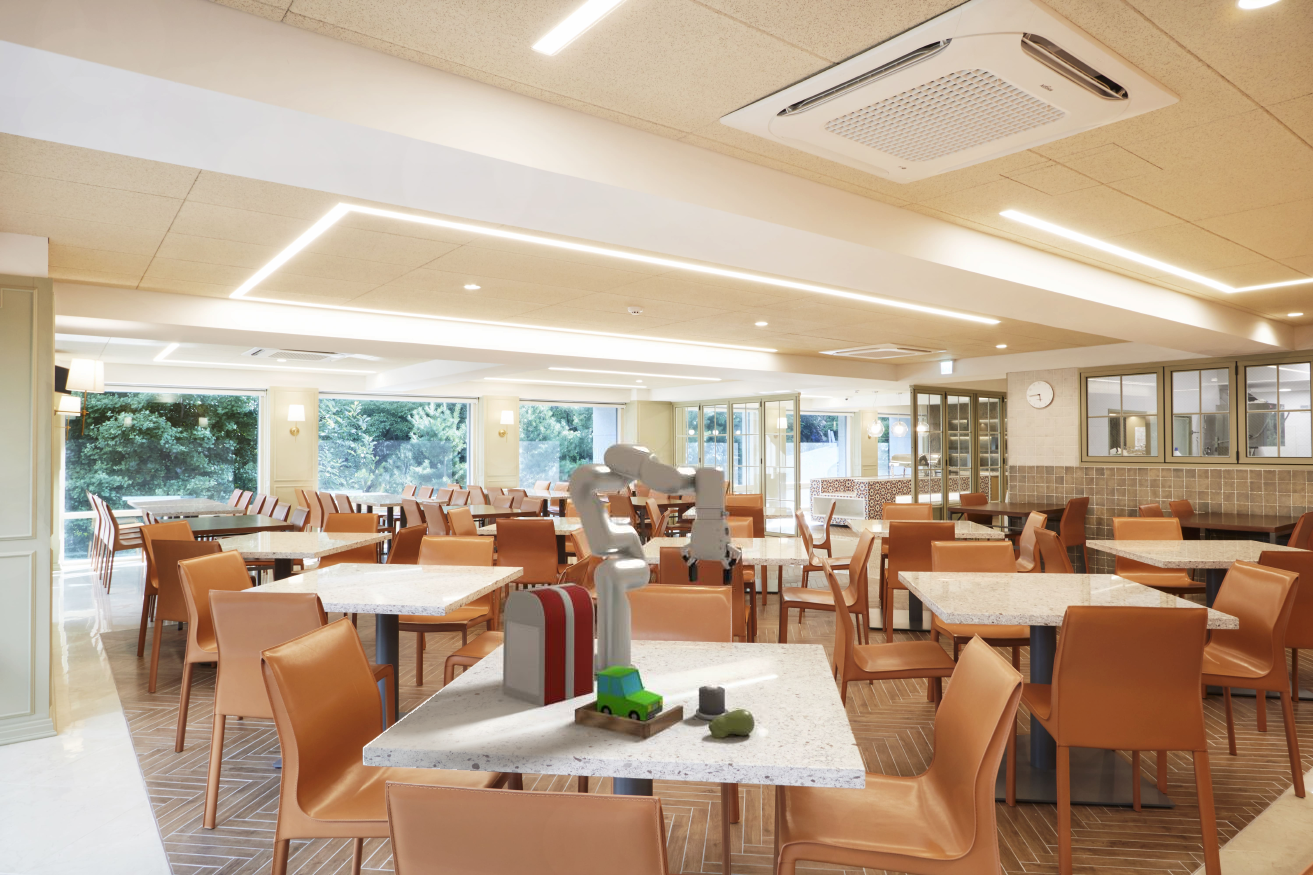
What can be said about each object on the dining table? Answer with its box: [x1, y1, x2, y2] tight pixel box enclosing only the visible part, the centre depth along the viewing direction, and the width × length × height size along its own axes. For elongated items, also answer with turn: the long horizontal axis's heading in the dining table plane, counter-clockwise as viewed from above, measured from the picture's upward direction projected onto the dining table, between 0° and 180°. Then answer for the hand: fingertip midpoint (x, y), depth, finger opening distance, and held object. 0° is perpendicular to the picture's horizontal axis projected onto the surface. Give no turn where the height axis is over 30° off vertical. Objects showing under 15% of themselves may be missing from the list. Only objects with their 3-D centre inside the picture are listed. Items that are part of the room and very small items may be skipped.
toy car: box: [596, 666, 664, 721], centre depth 178 cm, size 10×13×10 cm
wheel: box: [698, 684, 726, 715], centre depth 178 cm, size 6×6×6 cm
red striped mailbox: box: [502, 582, 596, 708], centre depth 197 cm, size 16×18×27 cm
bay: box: [574, 699, 684, 740], centre depth 174 cm, size 19×15×3 cm
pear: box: [708, 708, 756, 740], centre depth 165 cm, size 6×5×10 cm
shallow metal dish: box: [695, 707, 730, 722], centre depth 178 cm, size 8×8×1 cm
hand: (710, 582), depth 195 cm, fingers open, 9 cm apart
